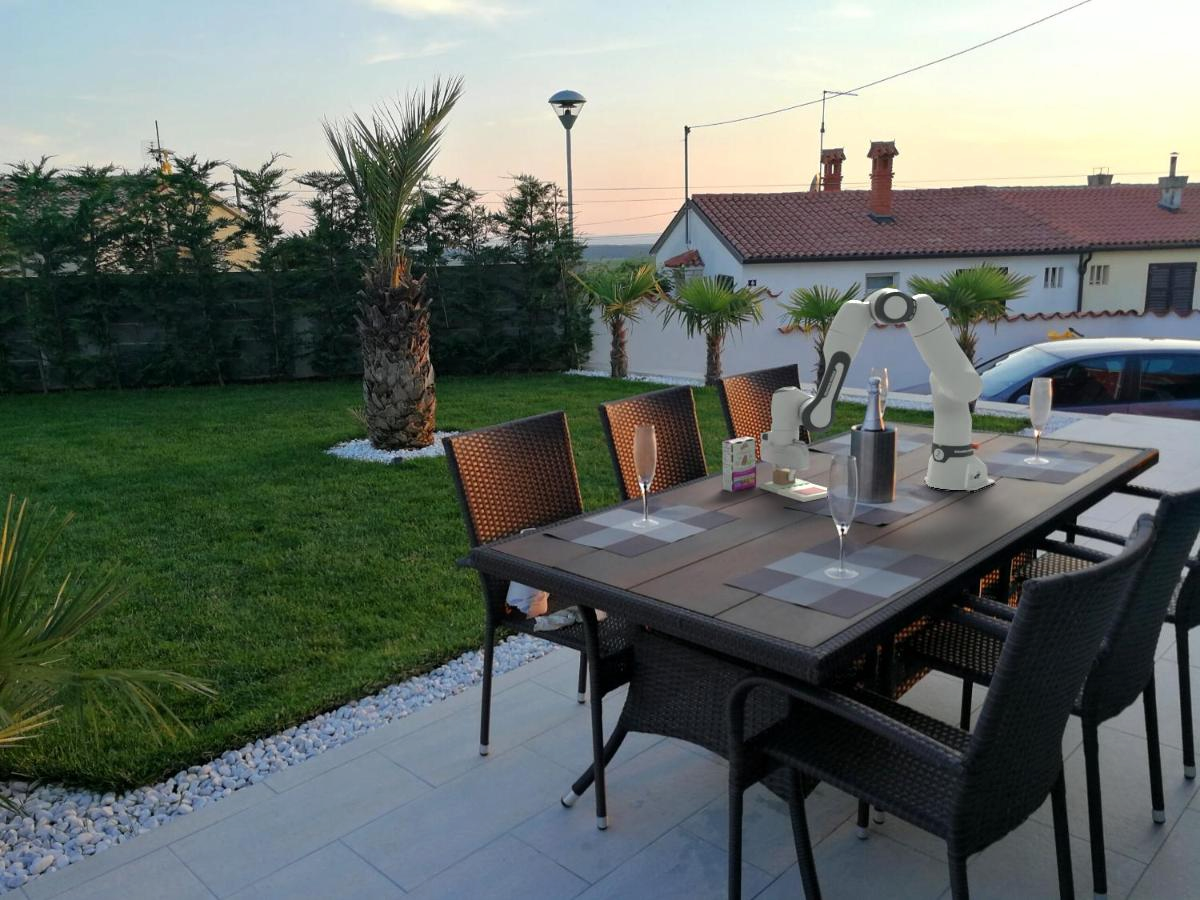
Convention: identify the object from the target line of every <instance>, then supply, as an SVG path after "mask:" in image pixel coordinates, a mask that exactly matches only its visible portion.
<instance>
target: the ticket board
mask: <svg viewBox="0 0 1200 900" xmlns="http://www.w3.org/2000/svg"><path fill="white" fill-rule="evenodd" d="M827 488H828V487H825V486H821V485H818V484H815V483H811V482H810V483H809V484H804V485H799V486H793V487H788V488H783V489H778V490H777V493H776V494H777V495H780V496H782V497H786V498H790V499H793V500H797V501H800V502H803V503H805V502H810V501H814V500H819V499H825V498H828V497H827Z"/></svg>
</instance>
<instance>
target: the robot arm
mask: <svg viewBox="0 0 1200 900" xmlns="http://www.w3.org/2000/svg"><path fill="white" fill-rule="evenodd" d="M874 324H875V325H876V324H880V325H883V326H884V325H888V326H890V325H891V326H892V325H898V324H899V325H900V324H904V326H905V327H906V328H907V330H908V333H909V334H910V337H911V338H912V340H913V342H914V344H915V346H916V348H917V351H918V353H919V354H920V357H921V359H922V360H923V361H924V363H925V364H926V365H927V367H928V368H929V369H930V371H931V372H930V375H929V379H928V380H929V385H930V389H931V390H930V391H931V400H932V408H933V409H932V410H933V417H934V418H933V420H934V421H933V436H932V437H933V441H932V442H931V444H930V448H931V450H930V453H931V456H930V457H929V460H928V464H927V465H928V467H927V471H926V472H927V474H926V476H924V479H923V480H925V485H926V484H927V485H928V486H927V485H926V486H927V487H929V486H930V487H929V488H931V487H934V488H933V489H935V488H940V489H949V490H977V489H979V488H981V487H984V486H986V485H989V484H991V483H994V482H995V483H996V481H995V479H993V478H990V477H988V467H987V465H986V463H984V462H983V461H982V460H981V459H980V458H978V457H977V456H976V455H975V451H974V450H977V451H978V450H979V449H980V443H975V442H973V443H972V442H971V441H972V438H971V437H972V428H973V427H972V425H973V418H972V416H971V412H970V405H969V403H970V402H973V401H975V400H976V399H978V398H979V397H980V396H981V394H982V393H983V389H984V381H983V379H982V377H981V376H980V375H979V373H978V372H977V371H976V369H975V367H974V365H973V364H972V362H971V361H970V359H969V358H968V356H967V355H966V354H965V352H964V350H963V349H962V347H960V345H959V343H958V342H957V340H956V337H955V335H954V333H953V332H952V329H951V327H950V325H949V323H948V321H947V319H946V317H945V315H944V313H943V312H942V310H941V308H940V307H939V305H938V304H937V303H936V302H935V300H934V299H933V297H931V296H930V295H929V294H924V293H918V294H916V295H913V296H910V295H908V294H907V293H906V292H904V291H902V290H900V289H896V288H890V287H886V288H879V289H876V290H873V291H872V292H870V293H869V294H868V295H866V296H865V297H864V298H863V299H861V300H856V299H854V300H853V299H851V300H847V301H845V302H844V303H843V304H842V305H841V306H840V308H839V309H838V310H837V313H836V314H835V316H834V318H833V320H832V322H831V324H830V326H829V329H828V331H827V333H826V335H825V338H824V344H823V348H822V351H823V356H824V360H825V369H824V370H825V371H824V374H823V376H822V379H821V382H820V385H819V387H818V390H817V392H816V395H812V394H808V393H806V392H804V391H802V390H801V389H799V388H798V387H797V386H784V387H781V388H778V389H776V390H775V391H774V393H772V399H771V406H770V407H771V409H770V410H771V411H770V413H771V415H770V416H771V419H772V423H771V426H770V431H766V432H763V433H760V440H761V441H760V446H759V447H760V449H759V454H760V455H759V456H760V459H761V461H764V462H767V463H772V468H773V471H776V470H781V468H780V466H783V467H786V468H788V469H789V471H790V472H789V474H788V475H786V477H787V478H786V479H787V480H789V481H792V480H793V479H794V474H795V472H797V470H798V471H801V472H802V471H807V470H809V468H810V466H811V463H810V461H811V460H810V451H809V449H808V448H809V447H808V445H807V444H806V441H803V440H800V439H799V438H800V426H803V427H804V428H805V429H806V431H808V432H809V433H812V434H814V435H815V434H816V435H821V434H824V433H826V432H828V431H830V430H831V429H832V428H833V426H834V424H835V421H836V405H837V402H838V399H839V396H840V394H841V391H842V387H843V386H844V382H845V380H846V377H847V374H848V372H849V370H850V369H851V366H852V364H853V362H854V360H855V358H856V356H857V354H858V353H859V350H860V349H861V347H862V344H863V342H864V340H865V336H866V335H867V332H868V331H869V329H870V328H871V327H872V326H874ZM795 475H796V474H795ZM940 489H939V490H940ZM949 490H948V491H949ZM977 491H978V490H977Z"/></svg>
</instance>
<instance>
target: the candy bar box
mask: <svg viewBox="0 0 1200 900" xmlns="http://www.w3.org/2000/svg"><path fill="white" fill-rule="evenodd" d="M721 445H722V447H721V449H722V452H721V453H722V458H721V459H722V490H725V491H728V492H732V493H734V492H737V491H743V490H746V489H750V488H754V487H757V447H756V446H757V438H755V437H753V436H752V437H751V436H742V437H738V438H732V439H728V440H724V441H723V440H722V441H721Z"/></svg>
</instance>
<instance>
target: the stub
mask: <svg viewBox="0 0 1200 900" xmlns="http://www.w3.org/2000/svg"><path fill="white" fill-rule="evenodd" d="M789 472H790V471H789V468H781V469H780V470H776V471H775V470H773V471H772V481H769V482H763V483H760V484H759V485H760V488H759V489H763V490H764V491H768V492H771V493H775V494H777V490H778V489H783V488H788V487H793V486H799V485H804V484H809V483H811V482H809V481H806V480H804V479H799V478H796V472H797V471H796V472H795V474H794V479H793V480H792V481H789V480H787V479H786V478H787V477H786V475H788V474H789Z"/></svg>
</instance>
